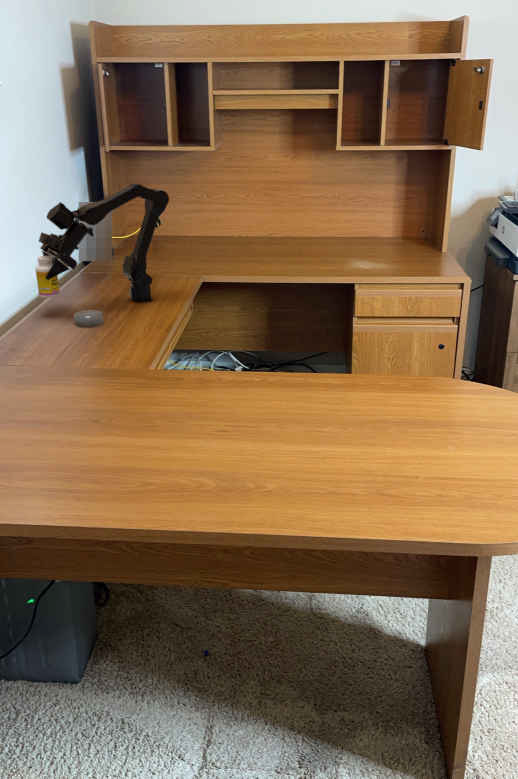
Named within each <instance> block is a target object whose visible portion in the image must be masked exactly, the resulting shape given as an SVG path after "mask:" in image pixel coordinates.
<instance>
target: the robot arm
mask: <svg viewBox="0 0 518 779" xmlns="http://www.w3.org/2000/svg"><path fill="white" fill-rule="evenodd" d="M138 197H139V198H141V199H143V200H144V216H143V219H142V222H141V226H140V228H139V232H138V235H137V238H136V242H135V244H134V248H133V250H132V253H131V254H130V255H125V256H124V261H123V264H121V267H122V272H123V274H124V276H125V277H127V279H128V281H129V282H130V286H129V287H128V288H129V298H130V300H131V301H132V302H134V303H142V302H151V301H153V297H152V296H151V294H152V293H151V285H152V283H153V277H151V275H149V274H148V273H147V267H148V264H147V263H148V262H147V255H148V252H149V248H150V245H151V242H152V239H153V236H154V233H155V230H156V227H157V224H158V220H159V218H160V216H161V215H162V214H163V213H164V212H165V211H166V208H167V207H168V204H169V202H170V197H169V194H168V192H166V191H165V190H163V189H157V188H148V187H146V186H143V185H142V184H140V183H136V182H132V183H130V184H129V185H128V186H126V187H123V188H122V189H120V190H118V191H116V192H115V193H113V194H112V195H110V196H106V197H105V198H104V199H102V200H99V201H95V202H90V203H87V204H84V205H82V206H81V207H79V209H75V210H72V211H71V210H70V209H69V208H68V207H66V205H65V204H64V203H63V202H58V203H57V204H56V205H55V206H53V207H52V208H51V209H49V211H48V212H47V214H46V219H47V220H48V221H50V222H51V223H52V224H53V225H54V226H56V227H57V228H58V229H59V230H61V231H62V230H65V231H64V233H63V234H59V235H57V234H55V233H52V232H51V233H50V234H47V233H45V232H40V235H39V239H38V243H41V244H42V245H41V246H40V248H39V249H40V250H41V253H42V256H52V258H53V262H52V264H53V265H52V266H51V268H50V270H49V272H48V273H47V275H46V277H45V278H46V279H47V280H49V279H51V278H53V277H55V276H57V275H58V276H60V274H62V273H65V272H66V271H70V270H75V269H76V267H77V266H78V262H77V260H76V259H75V258H73V257H72V254H73V253H74V252H75V251H78V250H79V249H80V246H79V244H80V243H81V242H82V241H83V239H84V238H85V237H86V235H88V236H90V237H94V232H93V231H94V229H93V227H90V226H96V225H98V224H99V223H101V221H102V220H104V219H105V218H106V217H107V215H108V214H109V213H111V212H112V211H114V210H117V209H118V208H119V207H122V206H123V205H126V204H127V203H129V202H130V201H132V200H134V199H136V198H138ZM76 220H77V221H76ZM78 221H79V222H78ZM84 223H85V224H84ZM86 224H87V225H90V226H87V225H86Z"/></svg>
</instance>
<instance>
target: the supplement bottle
mask: <svg viewBox="0 0 518 779" xmlns="http://www.w3.org/2000/svg"><path fill="white" fill-rule="evenodd" d="M37 262H38V265H36V267H35V274H36V276H35V277H36V281H37V282H36V284H37V291H38V296H39V297H40V298H41V299H42V298H43V299H53V298H54V299H55V298H57V297H58V296H60V284H59V275H57V276H55V277H53V278H51V279H49V280H47V279H46V278H45V277H46V275H47V273H48V272H49V270H50V268H51V266H52V265H53V264H52V262H53V258H52V256H43V255H41V256H38V257H37Z"/></svg>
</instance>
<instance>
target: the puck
mask: <svg viewBox="0 0 518 779" xmlns="http://www.w3.org/2000/svg"><path fill="white" fill-rule="evenodd" d="M73 323H74V326H75V325H77V326H79V327H78V328H83V327H89V328H95V327H94V326H96V327H99V326H101V325H103V324H102V323H104V316H103V312H102V311H100V310H96V309H95V310H94V309H87V310H86V309H85V310H84V309H83V310H81V311H80V310H79V311H77V312H75V313H74V314H73ZM100 324H101V325H100ZM98 325H99V326H98ZM77 326H76V327H77Z"/></svg>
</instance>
